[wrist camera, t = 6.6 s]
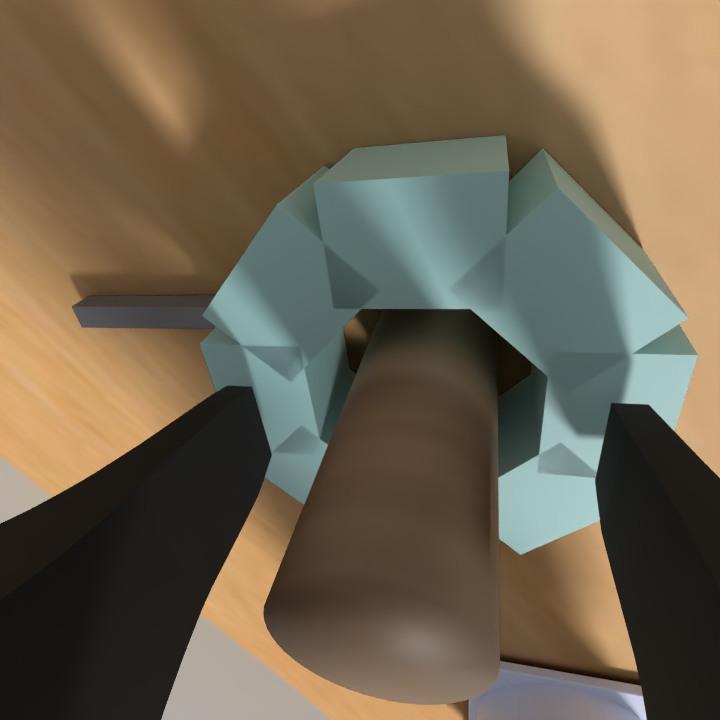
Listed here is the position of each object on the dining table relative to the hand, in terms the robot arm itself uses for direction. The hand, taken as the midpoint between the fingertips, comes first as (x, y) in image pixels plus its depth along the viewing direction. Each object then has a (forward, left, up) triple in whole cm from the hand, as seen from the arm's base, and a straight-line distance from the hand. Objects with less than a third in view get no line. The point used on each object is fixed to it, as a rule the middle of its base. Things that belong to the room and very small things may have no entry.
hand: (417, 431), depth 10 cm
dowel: (0, 0, -4) cm, 4 cm away
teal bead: (0, 0, -4) cm, 4 cm away
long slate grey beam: (+1, +8, -4) cm, 8 cm away
